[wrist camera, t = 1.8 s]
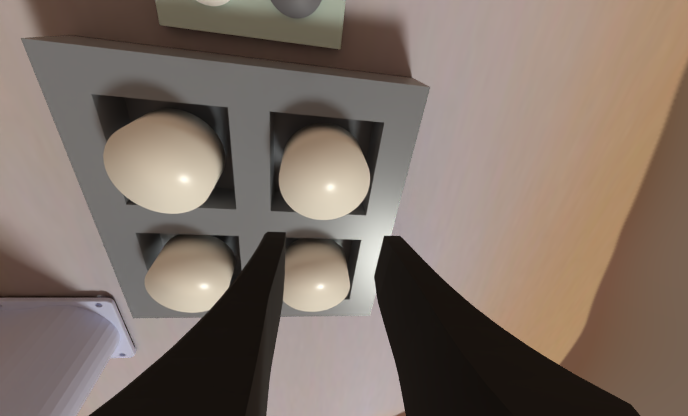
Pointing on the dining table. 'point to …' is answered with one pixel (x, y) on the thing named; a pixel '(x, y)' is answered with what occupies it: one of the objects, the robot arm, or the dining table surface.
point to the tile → (260, 19)
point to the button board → (228, 150)
